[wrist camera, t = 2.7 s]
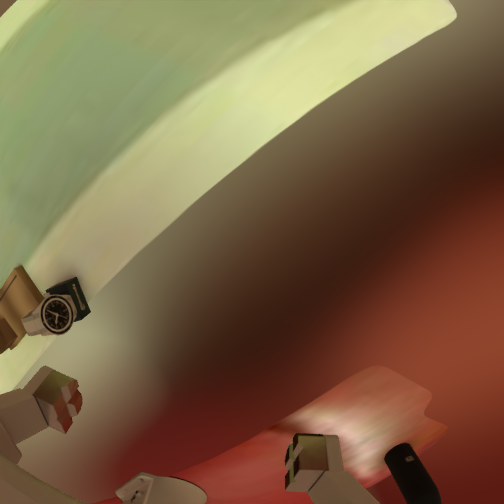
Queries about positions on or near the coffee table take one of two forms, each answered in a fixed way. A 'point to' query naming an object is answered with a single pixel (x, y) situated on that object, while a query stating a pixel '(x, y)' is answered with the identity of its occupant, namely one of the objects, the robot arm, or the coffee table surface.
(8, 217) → the coffee table surface
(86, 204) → the coffee table surface
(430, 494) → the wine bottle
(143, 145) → the coffee table surface
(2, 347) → the brown stepped block
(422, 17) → the coffee table surface
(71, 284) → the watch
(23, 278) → the board
